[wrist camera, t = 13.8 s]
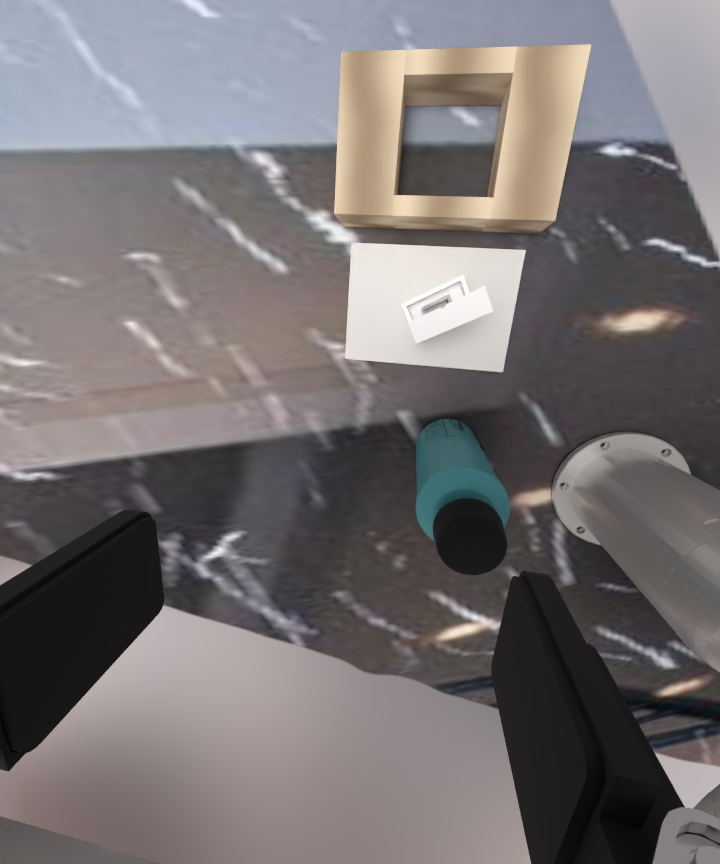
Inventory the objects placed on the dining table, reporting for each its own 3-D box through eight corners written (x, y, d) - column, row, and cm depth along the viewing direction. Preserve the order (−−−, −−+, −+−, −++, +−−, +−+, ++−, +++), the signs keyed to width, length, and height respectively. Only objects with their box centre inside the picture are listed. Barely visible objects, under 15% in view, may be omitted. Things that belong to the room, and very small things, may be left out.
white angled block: (526, 293, 30) (493, 311, 24) (429, 334, 37) (385, 356, 31) (512, 251, 30) (475, 259, 24) (416, 301, 37) (368, 317, 31)
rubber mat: (523, 251, 32) (525, 250, 32) (501, 371, 36) (502, 372, 35) (352, 244, 34) (351, 242, 34) (346, 358, 38) (345, 358, 37)
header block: (568, 82, 29) (591, 44, 25) (538, 233, 32) (555, 220, 28) (350, 85, 31) (341, 51, 27) (343, 226, 34) (334, 213, 30)
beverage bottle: (408, 461, 40) (400, 582, 21) (423, 405, 38) (428, 483, 19) (466, 475, 39) (511, 613, 20) (484, 419, 37) (552, 514, 18)
